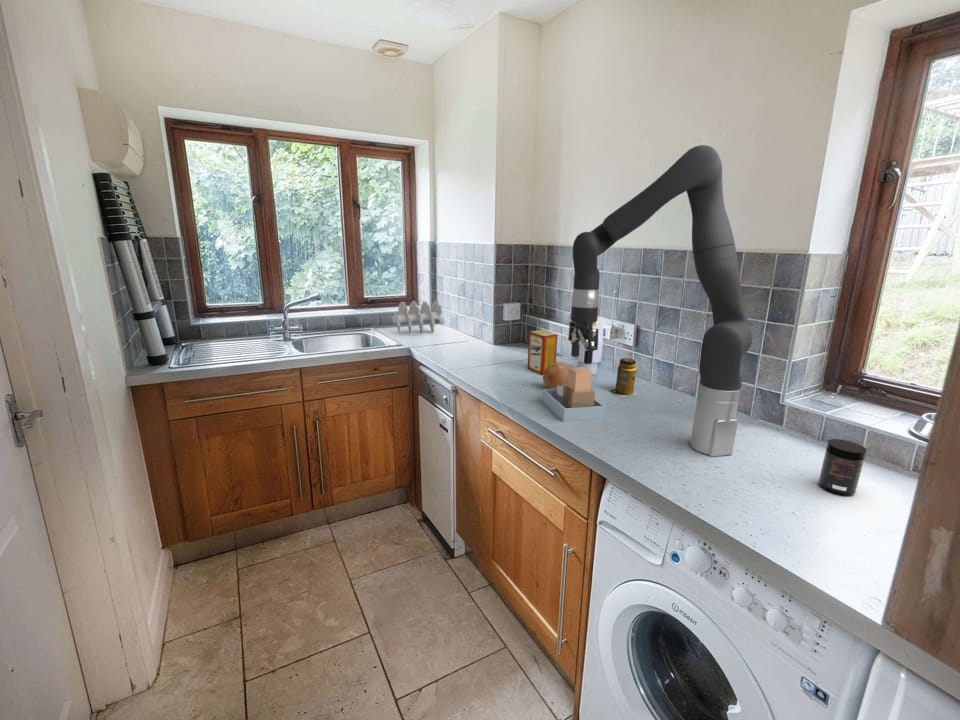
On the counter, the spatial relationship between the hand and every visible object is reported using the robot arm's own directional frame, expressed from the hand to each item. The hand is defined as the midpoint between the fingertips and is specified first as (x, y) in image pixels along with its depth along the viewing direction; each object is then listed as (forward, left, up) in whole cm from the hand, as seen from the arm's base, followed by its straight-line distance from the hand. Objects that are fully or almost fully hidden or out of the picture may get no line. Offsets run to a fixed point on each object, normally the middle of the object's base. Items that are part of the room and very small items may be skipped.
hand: (581, 359), depth 135 cm
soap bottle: (+41, -23, -18) cm, 50 cm away
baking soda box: (+47, -6, -18) cm, 51 cm away
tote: (+4, 0, -18) cm, 18 cm away
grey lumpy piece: (+127, +36, -18) cm, 133 cm away
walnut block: (0, 0, -17) cm, 17 cm away
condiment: (+17, -25, -18) cm, 35 cm away
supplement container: (-50, -39, -18) cm, 66 cm away
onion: (+24, -3, -18) cm, 30 cm away
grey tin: (+8, 0, -17) cm, 19 cm away
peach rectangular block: (0, 0, -9) cm, 9 cm away
